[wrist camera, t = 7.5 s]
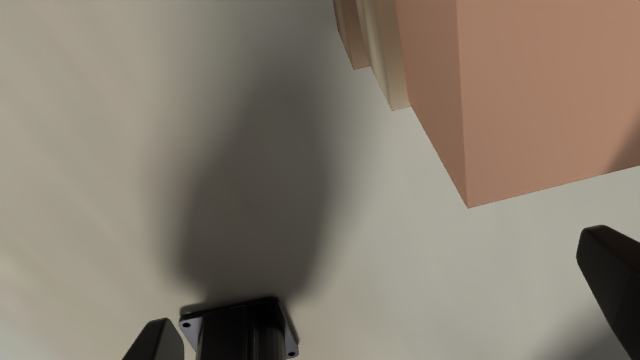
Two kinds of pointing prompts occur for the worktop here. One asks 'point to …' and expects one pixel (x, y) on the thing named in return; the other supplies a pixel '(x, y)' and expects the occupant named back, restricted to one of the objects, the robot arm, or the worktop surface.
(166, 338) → the robot arm
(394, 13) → the tower middle
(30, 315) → the worktop surface
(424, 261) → the worktop surface
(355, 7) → the tower base
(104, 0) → the worktop surface
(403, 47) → the terracotta block
